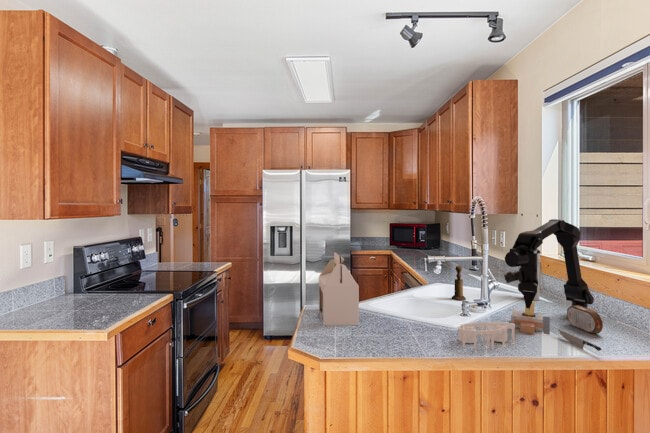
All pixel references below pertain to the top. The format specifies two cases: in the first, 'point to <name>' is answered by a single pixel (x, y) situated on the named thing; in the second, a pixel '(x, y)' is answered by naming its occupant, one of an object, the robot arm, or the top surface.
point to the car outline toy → (494, 333)
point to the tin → (584, 319)
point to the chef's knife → (577, 340)
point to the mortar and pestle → (458, 286)
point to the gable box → (338, 294)
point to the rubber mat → (546, 325)
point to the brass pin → (530, 310)
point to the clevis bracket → (527, 322)
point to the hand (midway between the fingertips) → (528, 305)
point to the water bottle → (538, 277)
